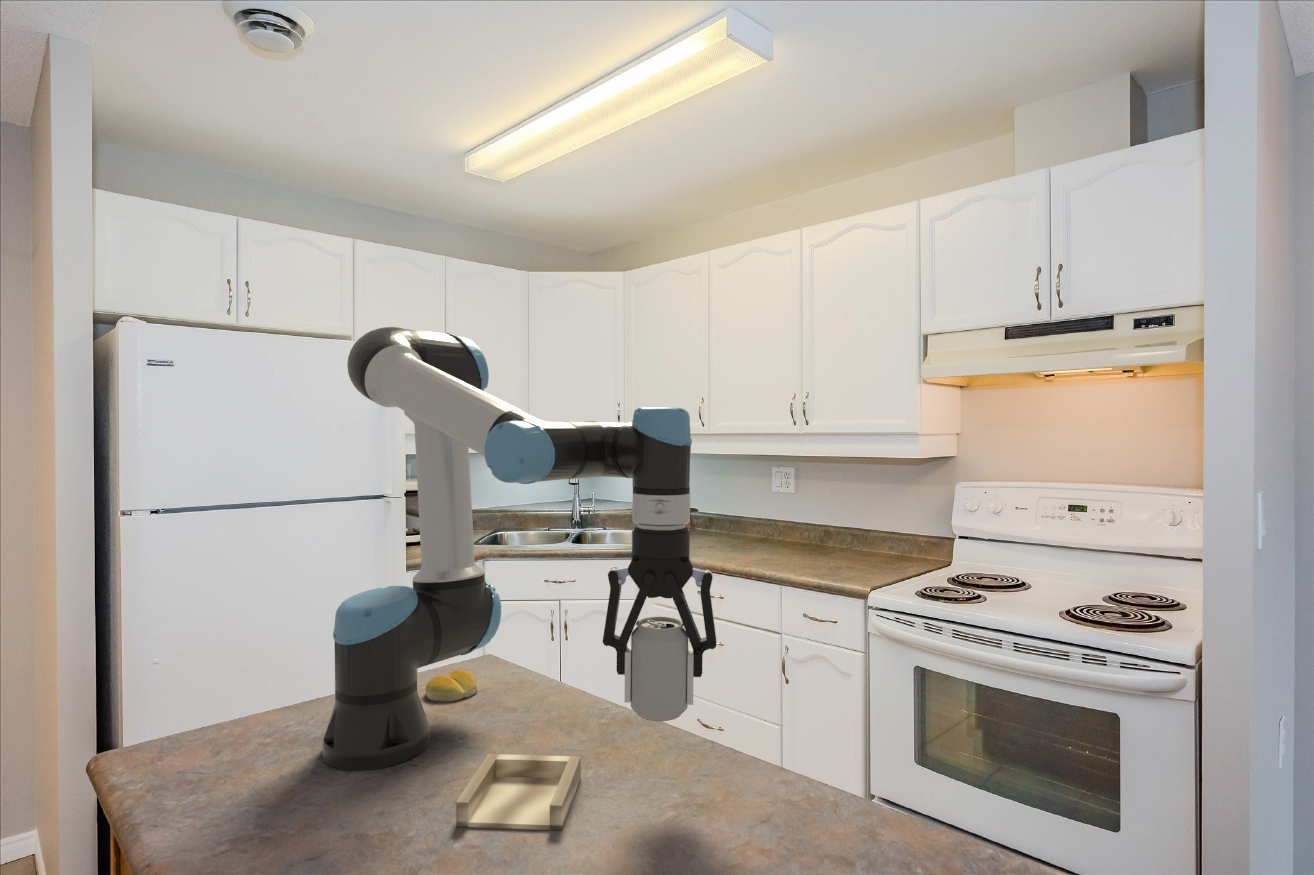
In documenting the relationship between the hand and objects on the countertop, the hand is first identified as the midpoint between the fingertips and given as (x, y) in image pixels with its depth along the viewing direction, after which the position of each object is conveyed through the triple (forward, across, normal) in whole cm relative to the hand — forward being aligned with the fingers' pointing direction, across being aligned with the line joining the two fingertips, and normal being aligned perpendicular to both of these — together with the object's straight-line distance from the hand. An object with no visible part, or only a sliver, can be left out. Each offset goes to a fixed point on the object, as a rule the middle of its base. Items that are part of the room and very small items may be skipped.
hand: (659, 699), depth 94 cm
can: (+2, 0, 0) cm, 2 cm away
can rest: (+13, -18, -2) cm, 22 cm away
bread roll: (+14, -40, +35) cm, 55 cm away
